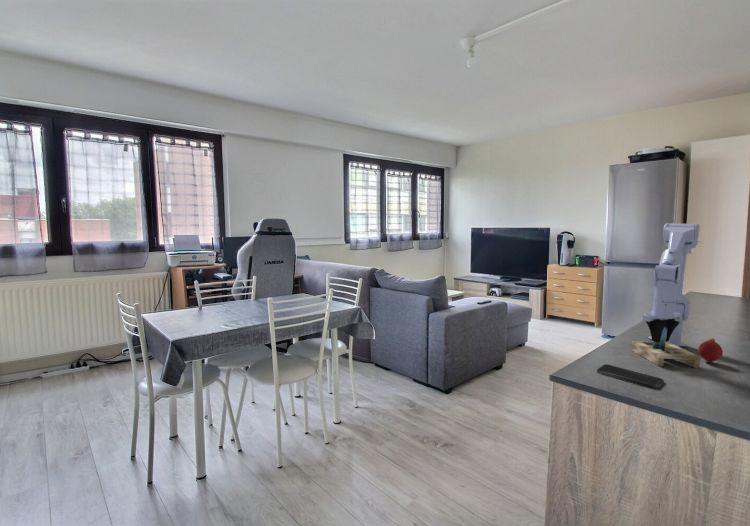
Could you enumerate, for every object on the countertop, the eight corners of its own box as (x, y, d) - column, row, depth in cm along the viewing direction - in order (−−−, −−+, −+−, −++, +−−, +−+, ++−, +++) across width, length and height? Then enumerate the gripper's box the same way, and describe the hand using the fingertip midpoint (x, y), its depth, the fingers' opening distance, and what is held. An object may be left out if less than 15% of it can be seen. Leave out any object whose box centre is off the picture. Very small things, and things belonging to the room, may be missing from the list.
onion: (712, 366, 120) (715, 341, 120) (692, 359, 126) (695, 335, 125) (725, 364, 122) (728, 340, 121) (705, 358, 128) (708, 334, 127)
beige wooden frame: (631, 350, 134) (632, 341, 133) (668, 352, 133) (669, 342, 132) (658, 366, 120) (659, 355, 119) (699, 367, 119) (700, 357, 118)
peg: (642, 352, 131) (646, 324, 130) (656, 351, 133) (660, 323, 131) (659, 359, 125) (663, 329, 124) (673, 358, 127) (677, 328, 125)
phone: (657, 387, 103) (596, 369, 114) (656, 391, 103) (595, 373, 114) (665, 379, 108) (605, 363, 119) (664, 383, 108) (605, 367, 119)
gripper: (669, 297, 132) (664, 336, 134) (635, 299, 128) (632, 338, 130) (690, 302, 126) (685, 342, 127) (656, 303, 122) (652, 345, 123)
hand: (660, 341), depth 128 cm, fingers closed on peg, 3 cm apart
